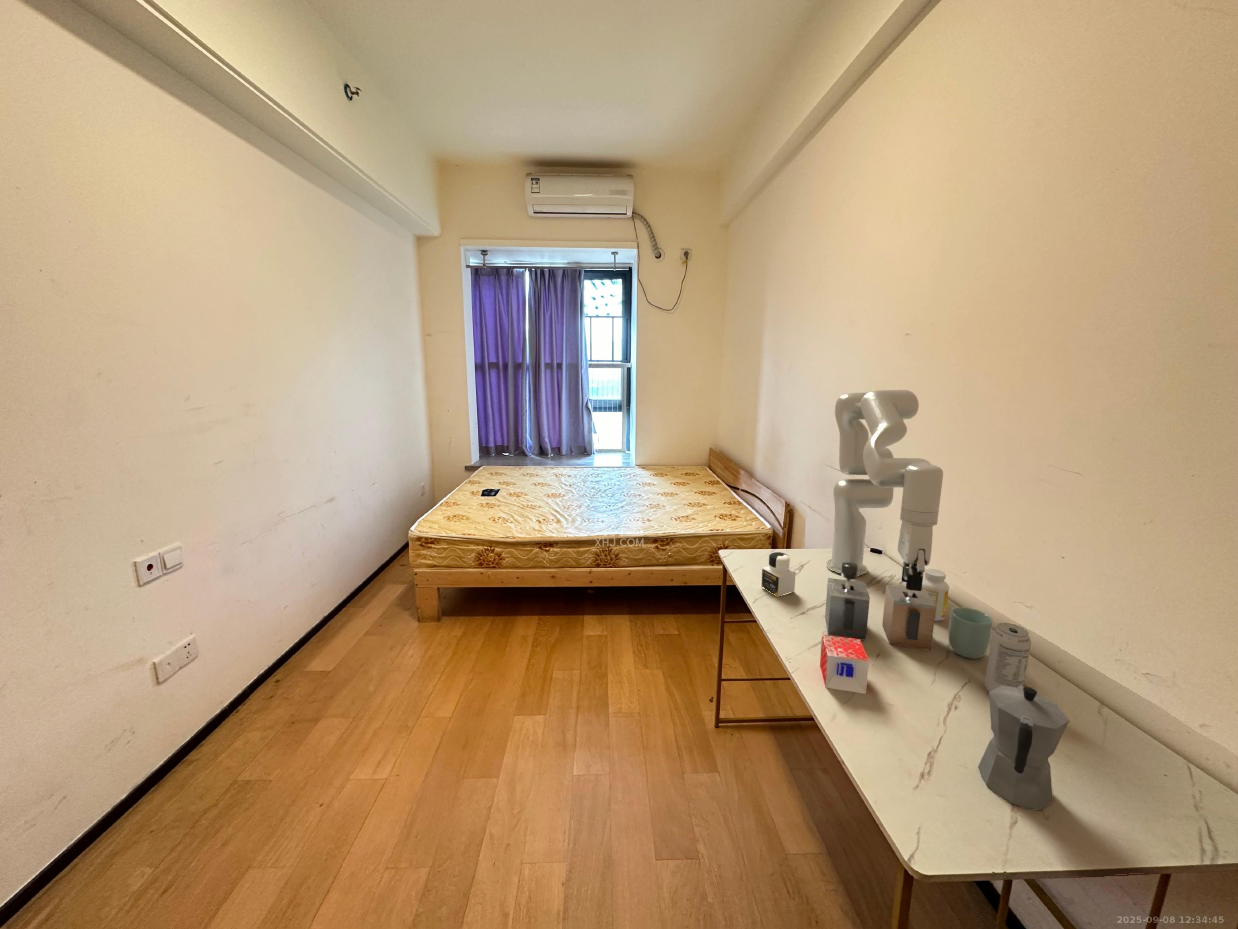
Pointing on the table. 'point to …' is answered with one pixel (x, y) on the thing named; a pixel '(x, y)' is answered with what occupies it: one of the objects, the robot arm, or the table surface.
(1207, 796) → the table surface
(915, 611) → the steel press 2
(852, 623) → the grey joystick box
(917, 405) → the robot arm
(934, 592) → the supplement bottle
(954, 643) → the cup
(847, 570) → the plunger
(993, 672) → the energy drink can
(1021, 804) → the coffeepot
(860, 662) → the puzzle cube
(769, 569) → the medicine bottle
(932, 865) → the table surface
